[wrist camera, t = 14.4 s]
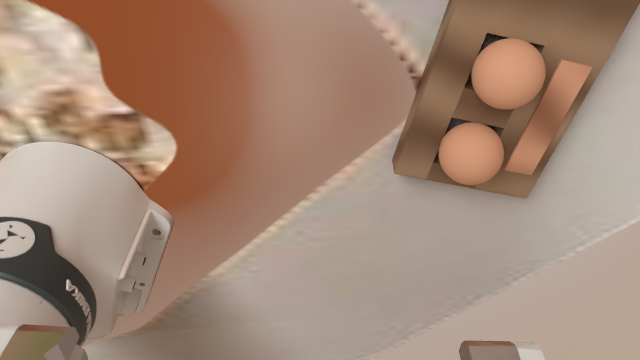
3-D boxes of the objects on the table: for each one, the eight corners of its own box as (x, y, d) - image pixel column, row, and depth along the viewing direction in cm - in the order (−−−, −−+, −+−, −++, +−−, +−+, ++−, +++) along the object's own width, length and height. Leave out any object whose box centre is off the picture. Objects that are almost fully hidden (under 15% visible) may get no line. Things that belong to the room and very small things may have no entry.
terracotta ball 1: (481, 166, 45) (495, 202, 41) (426, 155, 44) (435, 191, 40) (505, 117, 42) (522, 151, 38) (446, 105, 42) (458, 138, 37)
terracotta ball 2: (514, 95, 41) (536, 127, 37) (454, 83, 40) (470, 115, 36) (543, 35, 38) (570, 63, 34) (479, 21, 37) (499, 48, 33)
